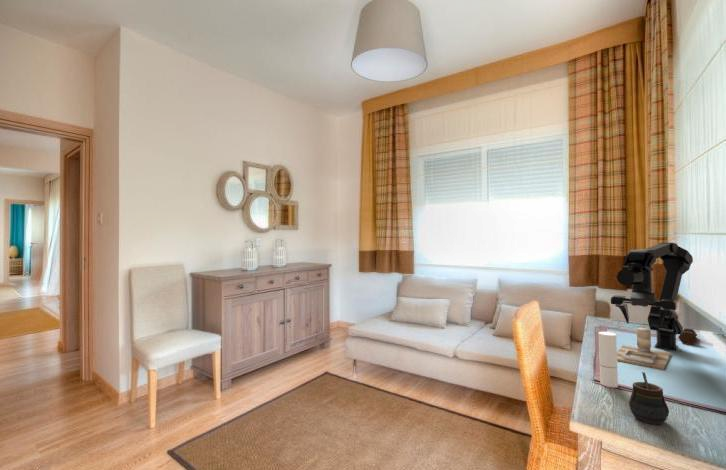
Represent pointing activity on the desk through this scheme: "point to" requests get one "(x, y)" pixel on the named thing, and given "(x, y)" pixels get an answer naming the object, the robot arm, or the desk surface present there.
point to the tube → (608, 359)
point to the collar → (625, 355)
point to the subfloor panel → (658, 363)
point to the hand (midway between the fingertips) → (643, 325)
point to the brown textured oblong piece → (688, 336)
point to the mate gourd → (648, 402)
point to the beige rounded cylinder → (643, 340)
